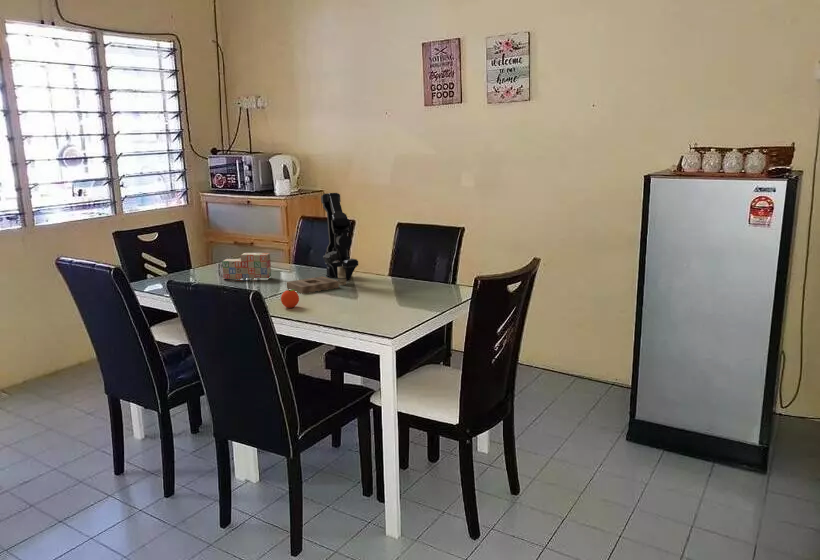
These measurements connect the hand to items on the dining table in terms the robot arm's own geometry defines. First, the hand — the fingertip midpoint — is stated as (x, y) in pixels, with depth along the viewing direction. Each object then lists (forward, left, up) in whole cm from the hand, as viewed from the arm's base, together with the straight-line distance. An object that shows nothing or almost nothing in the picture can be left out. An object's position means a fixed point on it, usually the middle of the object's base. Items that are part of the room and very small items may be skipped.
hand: (342, 279), depth 292 cm
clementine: (+37, +22, -2) cm, 43 cm away
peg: (0, 0, -2) cm, 2 cm away
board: (+14, -2, -2) cm, 14 cm away
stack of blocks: (+27, -40, -3) cm, 49 cm away
